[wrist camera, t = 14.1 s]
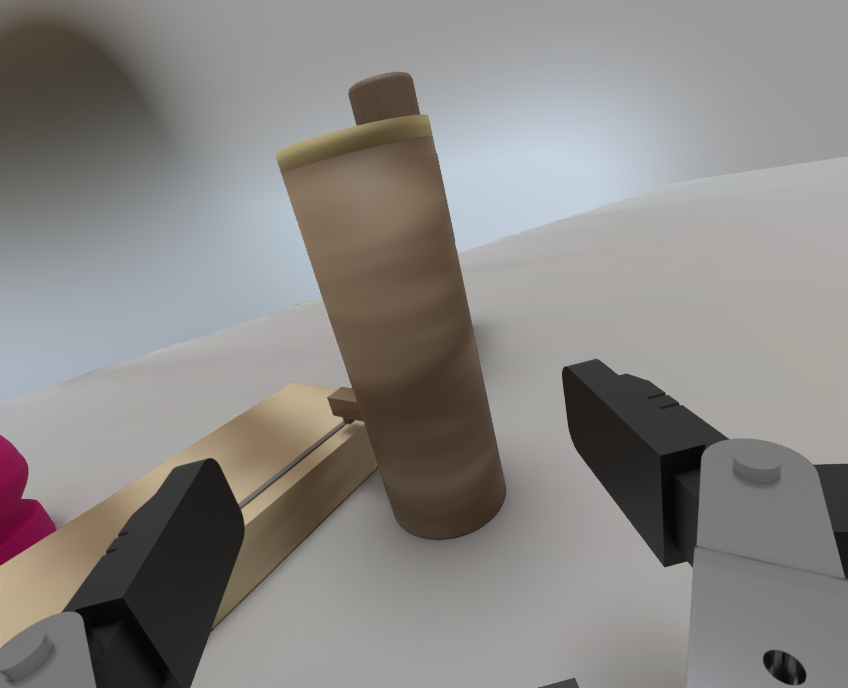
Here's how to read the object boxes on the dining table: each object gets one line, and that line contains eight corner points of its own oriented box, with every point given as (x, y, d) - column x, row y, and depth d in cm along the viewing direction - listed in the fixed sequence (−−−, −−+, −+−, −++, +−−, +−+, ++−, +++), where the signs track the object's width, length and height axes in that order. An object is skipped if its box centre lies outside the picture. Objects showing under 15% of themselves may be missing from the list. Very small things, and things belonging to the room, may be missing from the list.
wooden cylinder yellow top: (469, 555, 16) (354, 121, 11) (325, 501, 21) (198, 180, 16) (524, 470, 20) (457, 110, 15) (391, 440, 25) (304, 161, 19)
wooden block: (472, 324, 38) (424, 93, 32) (477, 382, 28) (408, 63, 22) (430, 333, 39) (375, 106, 32) (421, 392, 29) (338, 84, 23)
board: (-734, 1553, 6) (-1002, 1567, 5) (-461, 962, 11) (-565, 916, 10) (408, 437, 24) (396, 396, 24) (304, 415, 30) (291, 381, 29)
